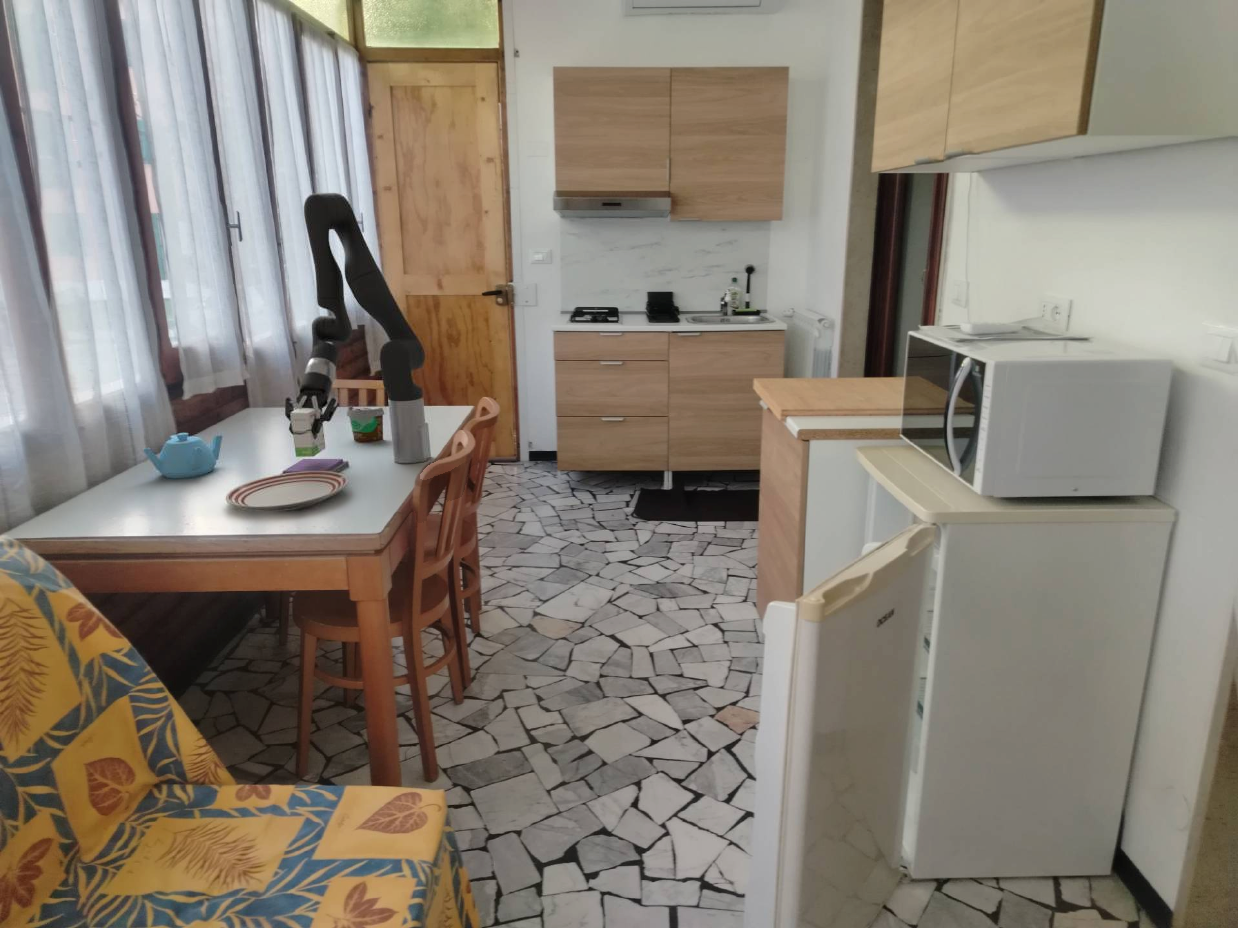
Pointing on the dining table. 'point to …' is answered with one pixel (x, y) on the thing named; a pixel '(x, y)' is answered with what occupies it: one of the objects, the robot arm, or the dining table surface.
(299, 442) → the ink box
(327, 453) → the dining table surface
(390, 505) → the dining table surface
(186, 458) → the teapot
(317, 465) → the ink pad
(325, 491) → the dinner plate
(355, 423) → the food container
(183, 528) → the dining table surface
